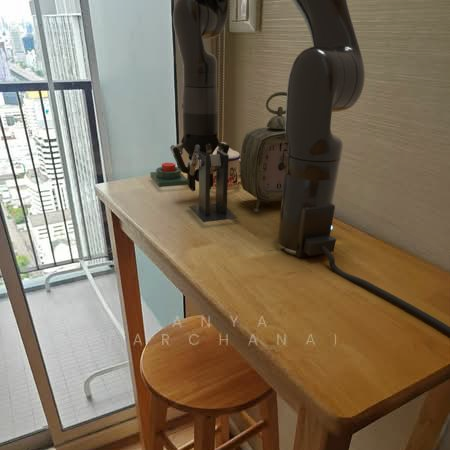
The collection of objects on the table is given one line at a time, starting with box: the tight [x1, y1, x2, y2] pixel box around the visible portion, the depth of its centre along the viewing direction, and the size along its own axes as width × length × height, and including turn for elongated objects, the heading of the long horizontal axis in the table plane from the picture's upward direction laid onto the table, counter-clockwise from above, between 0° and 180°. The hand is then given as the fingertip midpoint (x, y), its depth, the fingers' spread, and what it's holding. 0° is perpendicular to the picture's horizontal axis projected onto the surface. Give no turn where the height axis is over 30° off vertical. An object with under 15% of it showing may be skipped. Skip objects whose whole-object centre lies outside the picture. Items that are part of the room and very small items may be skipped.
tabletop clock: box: [239, 91, 288, 213], centre depth 91 cm, size 14×9×25 cm, turn 114°
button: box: [161, 162, 177, 172], centre depth 109 cm, size 4×4×2 cm
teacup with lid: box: [211, 141, 241, 190], centre depth 107 cm, size 12×9×12 cm
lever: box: [194, 154, 221, 183], centre depth 90 cm, size 13×3×3 cm
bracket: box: [188, 150, 238, 223], centre depth 88 cm, size 10×8×14 cm
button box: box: [149, 166, 188, 188], centre depth 110 cm, size 10×8×4 cm
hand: (200, 189), depth 97 cm, fingers closed on lever, 3 cm apart
